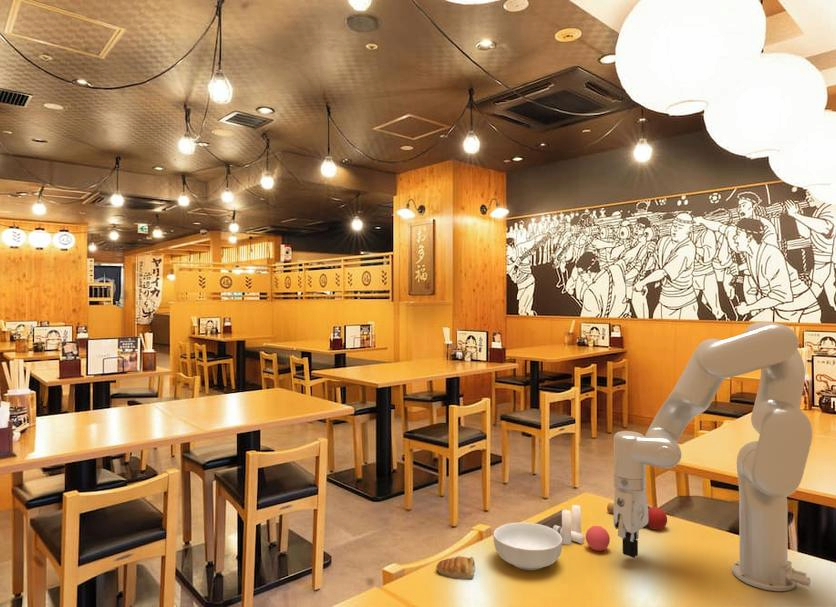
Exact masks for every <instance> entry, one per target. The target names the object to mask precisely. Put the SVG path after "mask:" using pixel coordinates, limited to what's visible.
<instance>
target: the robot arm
mask: <svg viewBox="0 0 836 607" xmlns="http://www.w3.org/2000/svg"><path fill="white" fill-rule="evenodd" d="M758 370H760V378H759V383H758V384H759V385H758V388H757V393H756V397H755V401H754V405H753V408H752V411H751V416H750V422H751V425H752V427H753V429H754V430H755V431H756V432H757V433H758V434H759V436H758V440H756V441H750V442H748V443H745V444H744V445H743V446H742V447H741V448H740V450H739V451H738V454H737V457H736V470H737V471H736V472H737V482H738V494H739V495H738V498H739V502H738V503H739V504H738V505H739V507H738V508H739V510H738V512H739V513H738V515H739V518H738V519H739V520H738V521H739V528H738V529H739V534H738V535H739V560H738V561H736V562H734V563H733V564H732V565H731V567H732V568H731V570H732V571H731V572H732V573H733V576H735V577H736V578H737V579H738V580H740V581H741V582H743V583H745V584H747V585H749V586H752V587H754V588H758V589H761V590H766V591H772V592H787V591H791V590H793V589H794V588H796V586H797V583H798V584H799V585H802V586H806V587H808V588H809V587H810V586H811V577H809V576H807V572H804V571H801V570H796V569H795V568H793V567H792V561H790V560H788V558H789V557H788V556H789V555H788V554H789V552H788V551H789V550H788V545H789V544H788V516H789V515H788V498H787V497H789V496H790V495H792V494H794V493H795V492H796V491H797V490H798V489H799V487H800V485H801V482H802V480H803V477H804V474H805V473H804V472H805V468H806V465H807V461H808V458H809V453H810V449H811V445H812V440H813V426H812V424H811V421H810V420H811V419H810V418H809V417H808V415H807V414H806V413H804V411H802V410H801V409H800V408H801V402H802V399H803V393H804V388H805V380H806V368H805V363H804V361H803V357H802V355H801V353H800V352H799V337H798V336H797V333H796V332H795V331H794V330H793V329H792V328H790V327H789V326H787V325H786V324H782V323H777V322H771V321H757V322H754V323H752V324H750V325H748V327H746V329H745V330H744V332H743V333H741V334H738V335H735V336H733V337H728V338H726V339H719V338H709V339H708V338H707V339H705V340H703V341H701V342H700V343H699V344H698V345H697V347H696V348H695V350H694V352H692V354H691V357H690V359H689V361H688V362H687V364H686V366H685V368H684V370H683V372H681V373H682V374H681V375H680V377H679V379H678V380H677V382H676V384H675V385H674V388H673V389H672V390H671V392H670V394H669V395H668V396H667V398H666V400H665V401H664V402H663V404H662V405H661V407H660V408H659V410H658V411H657V413H656V414H655V416H654V418H653V420H652V422H651V424H650V425H649V427H648V429H647V430H646V433H645V435H643V434H642V433H640V432H637V431H631V430H621V431H617V432H616V433H614V435H613V488H614V489H615V491H614V496H613V497H614V498H613V504H614V514H613V513H612V514H613V517H612V518H613V526H614V528H615V529H616V530H617V537H619V538H621V539H622V554H623V555H624V556H628V557H631V558H636V557H638V555H639V549H638V548H639V545H638V544H639V540H638V539H639V533H640V530H641V529H643V528H644V527H646V526H648V525H647V524H648V504H649V502H648V494H647V476H646V475H647V472H646V471H647V470H646V469H647V468H646V467H647V466H651V467H656V468H660V469H661V468H662V469H671V468H674V467H676V466H677V465H678V464H679V463H680V462H681V460H682V450H681V447H680V445H679V444H678V442H679V440H680V438H681V436H682V434H683V433H684V431H685V429H686V427H687V426H688V425H689V424H690V422H691V421H692V420H693V419H695V418H696V417H697V416H699V415H700V414H702V413H704V412H706V411H707V409H709V407H710V406H711V404H712V402H713V401H714V399H715V396H716V395H717V393H718V391H719V390H720V388H721V386H722V384H723V382H724V380H726V379H730V378H734V377H737V376H741V375H745V374H746V375H747V374H748V373H752V372H755V371H758Z"/></svg>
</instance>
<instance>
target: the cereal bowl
mask: <svg viewBox="0 0 836 607" xmlns="http://www.w3.org/2000/svg"><path fill="white" fill-rule="evenodd" d="M535 523H536V522H535ZM535 523H534V522H525V521H524V522H523V521H521V522H512V523H511V522H509V523H505V524H502V525H500V526H498V527H497V528H495V529H494V531H493V545H494V549H495V551H496V552H497V554H498V556H499V557H500V558H501V559H503V560H504V562H506V563H508V564H510V565H513V567H516V568H517V569H520V570H524V571H536V570H537V571H538V570H539V569H542V568H545V567H548V566H551V565H552V564H554V563H556V561H557V560H558V559H559V558H560V556H561V553H562V549H563V543H562V537H561V535H560V534H559V533H558V532H557V531H556V530H554V529H552V528H550V527H547V526H544V525H540V524H535Z"/></svg>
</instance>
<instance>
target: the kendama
mask: <svg viewBox="0 0 836 607" xmlns="http://www.w3.org/2000/svg"><path fill="white" fill-rule="evenodd" d="M606 508H607V513H609V514H614V503H612V502H608V503H607V506H606ZM667 524H668V517H667V514H666V512H665V511H664V510H663V509H661V508H660V507H656V506H652V505H650V504H649V503H648V524H647V525H646V526H648V527H649V528H651V529H653V530H662V529H664V528H666V526H667Z"/></svg>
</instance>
